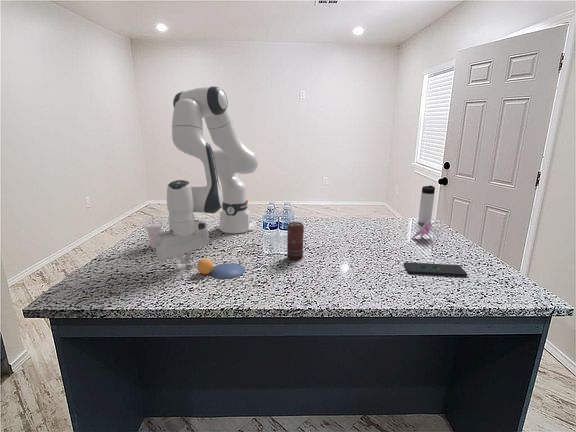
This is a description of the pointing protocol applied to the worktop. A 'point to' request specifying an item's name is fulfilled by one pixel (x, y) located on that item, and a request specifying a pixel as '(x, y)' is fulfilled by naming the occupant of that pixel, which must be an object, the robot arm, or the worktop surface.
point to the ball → (205, 266)
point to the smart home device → (435, 269)
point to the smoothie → (153, 232)
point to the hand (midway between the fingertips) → (185, 263)
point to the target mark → (227, 271)
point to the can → (295, 241)
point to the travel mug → (426, 204)
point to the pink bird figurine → (424, 230)
